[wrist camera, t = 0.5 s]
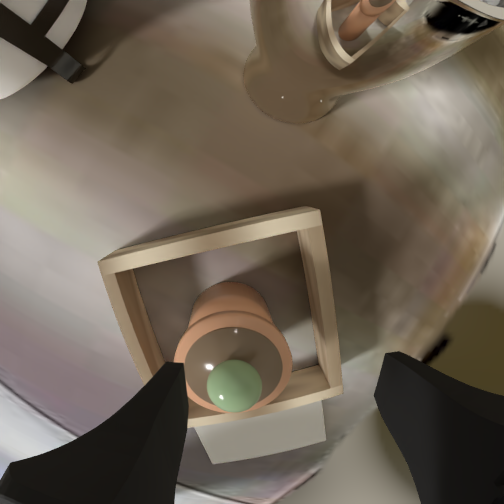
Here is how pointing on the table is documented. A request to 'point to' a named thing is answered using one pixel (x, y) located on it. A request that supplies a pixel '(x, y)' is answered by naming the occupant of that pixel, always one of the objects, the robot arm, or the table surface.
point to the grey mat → (264, 434)
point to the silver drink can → (352, 47)
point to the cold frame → (297, 219)
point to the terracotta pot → (233, 351)
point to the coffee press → (36, 40)
